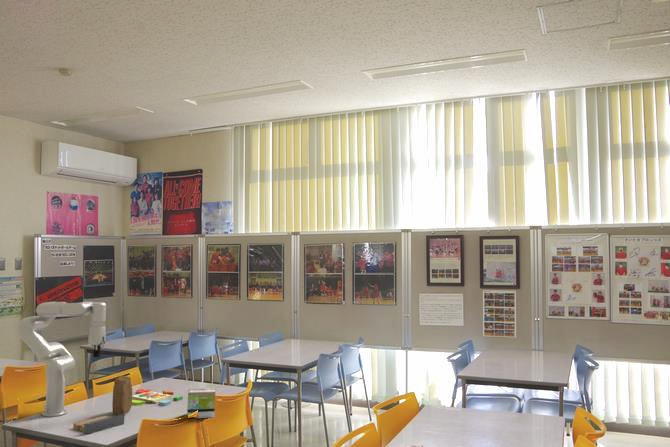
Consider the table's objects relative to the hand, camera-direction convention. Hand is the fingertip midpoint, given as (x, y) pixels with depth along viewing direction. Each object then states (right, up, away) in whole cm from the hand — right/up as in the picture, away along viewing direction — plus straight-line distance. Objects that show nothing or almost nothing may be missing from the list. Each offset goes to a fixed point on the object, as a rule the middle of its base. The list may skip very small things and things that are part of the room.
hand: (96, 356), depth 307 cm
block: (+12, -34, +6) cm, 37 cm away
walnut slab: (+8, -33, -20) cm, 39 cm away
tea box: (+59, -35, +2) cm, 68 cm away
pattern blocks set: (+19, -37, +38) cm, 56 cm away
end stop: (+14, -32, -23) cm, 42 cm away
